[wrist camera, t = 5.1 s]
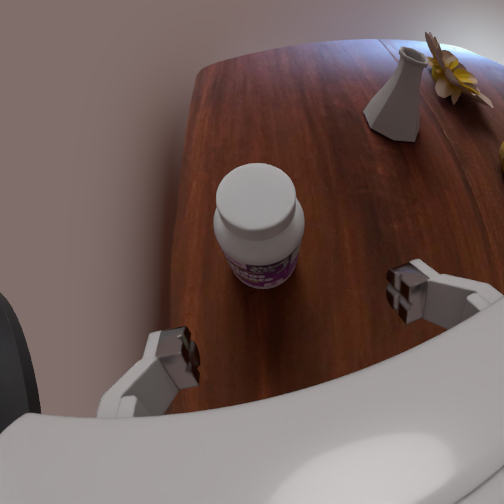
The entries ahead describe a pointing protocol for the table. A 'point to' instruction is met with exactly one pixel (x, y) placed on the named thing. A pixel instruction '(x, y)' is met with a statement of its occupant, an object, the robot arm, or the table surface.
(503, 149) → the fruit
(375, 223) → the table surface
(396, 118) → the flask
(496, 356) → the robot arm
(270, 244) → the pill bottle
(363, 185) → the table surface
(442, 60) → the decorative flower
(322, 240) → the table surface
